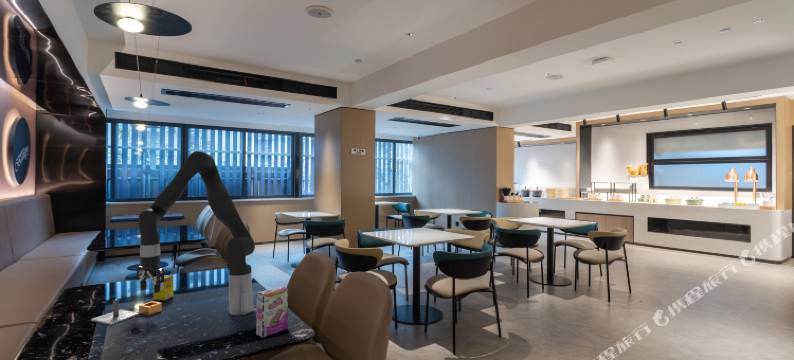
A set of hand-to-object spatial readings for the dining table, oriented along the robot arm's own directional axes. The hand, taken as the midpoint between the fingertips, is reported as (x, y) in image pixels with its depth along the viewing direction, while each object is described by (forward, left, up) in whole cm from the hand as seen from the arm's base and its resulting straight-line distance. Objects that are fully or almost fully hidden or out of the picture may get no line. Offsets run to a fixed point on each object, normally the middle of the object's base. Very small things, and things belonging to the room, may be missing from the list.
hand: (150, 291), depth 169 cm
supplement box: (+10, -14, -9) cm, 19 cm away
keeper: (+7, +10, -9) cm, 15 cm away
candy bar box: (-63, -3, -9) cm, 64 cm away
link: (0, 0, -9) cm, 9 cm away
